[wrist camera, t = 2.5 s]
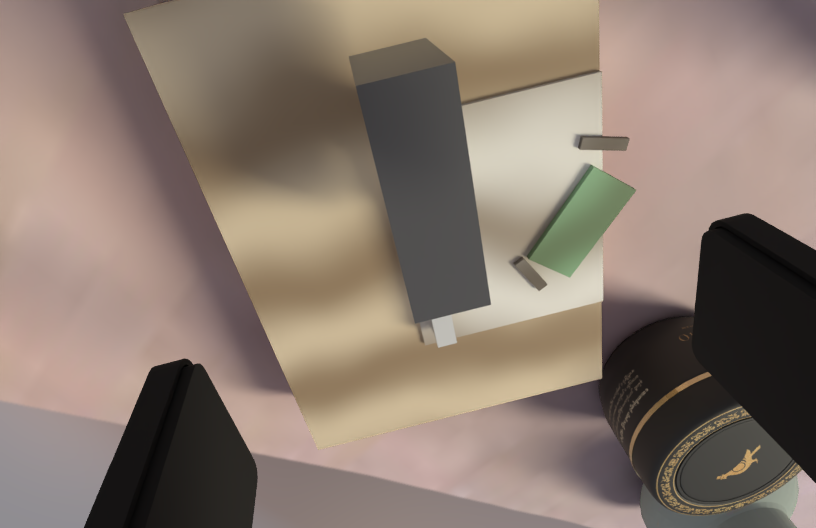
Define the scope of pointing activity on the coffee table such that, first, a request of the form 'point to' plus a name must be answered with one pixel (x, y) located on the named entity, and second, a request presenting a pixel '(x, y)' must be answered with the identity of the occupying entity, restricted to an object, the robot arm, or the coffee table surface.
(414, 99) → the peg
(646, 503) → the pale green rounded vessel
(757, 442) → the jar
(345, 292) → the tan flat box
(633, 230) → the coffee table surface
